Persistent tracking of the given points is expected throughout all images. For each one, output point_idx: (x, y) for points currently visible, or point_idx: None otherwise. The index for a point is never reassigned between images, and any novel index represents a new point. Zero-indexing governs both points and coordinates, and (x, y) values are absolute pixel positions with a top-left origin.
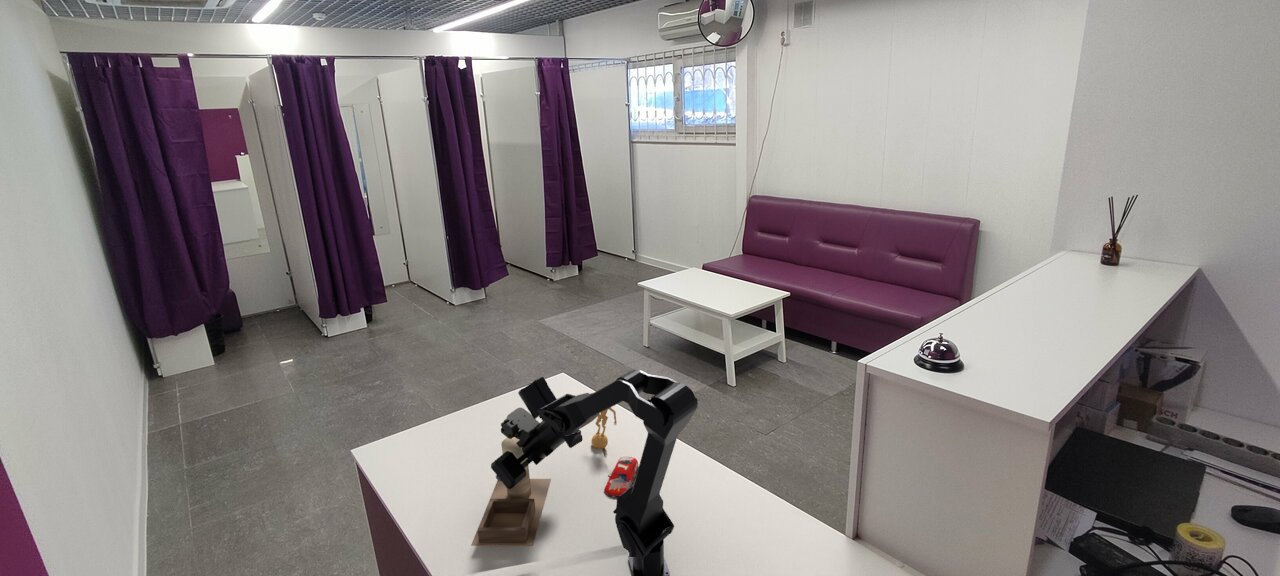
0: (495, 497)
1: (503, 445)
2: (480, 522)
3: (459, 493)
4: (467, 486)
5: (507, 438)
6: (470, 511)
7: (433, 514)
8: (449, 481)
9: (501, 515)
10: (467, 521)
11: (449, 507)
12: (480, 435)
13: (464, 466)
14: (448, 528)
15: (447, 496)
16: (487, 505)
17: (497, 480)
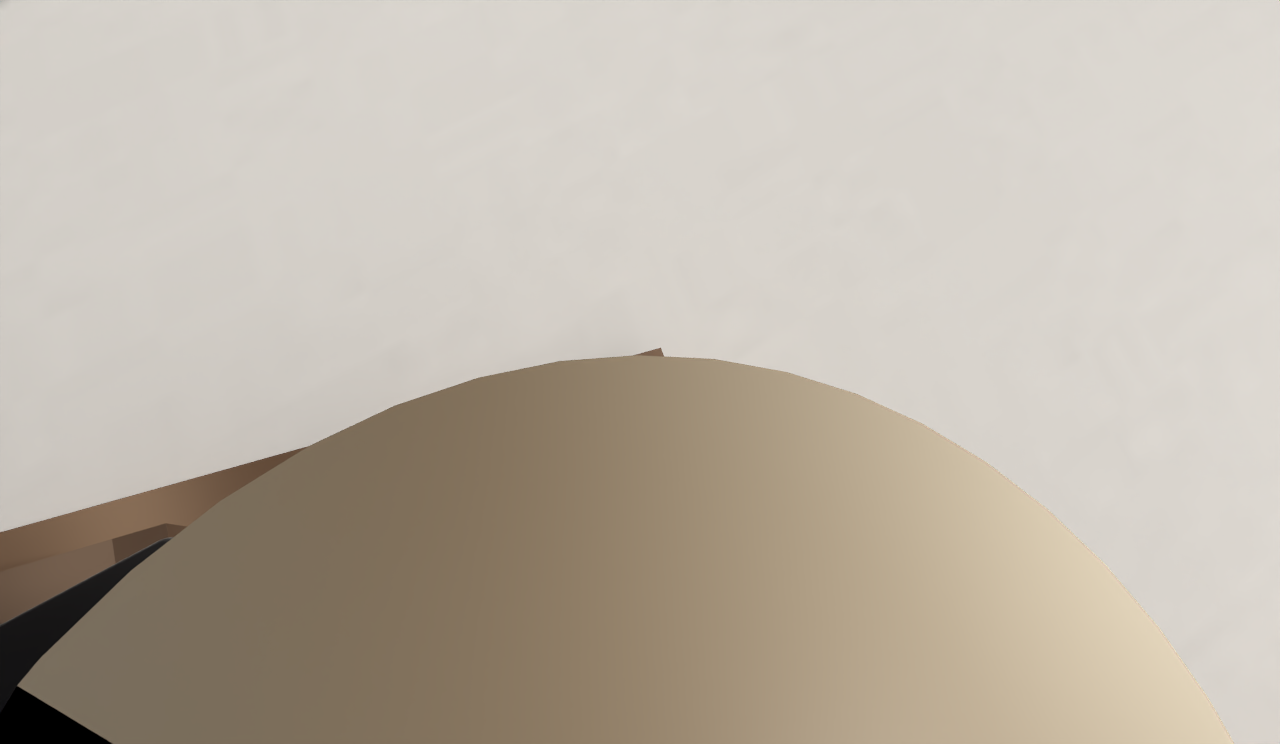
0: None
1: (196, 650)
2: (33, 525)
3: (453, 148)
4: (542, 163)
5: (870, 470)
6: (270, 327)
7: (180, 88)
8: (552, 31)
9: None
10: (139, 369)
11: (283, 156)
12: (1016, 7)
13: (723, 50)
14: (24, 268)
15: (399, 88)
16: (301, 450)
17: (638, 354)
